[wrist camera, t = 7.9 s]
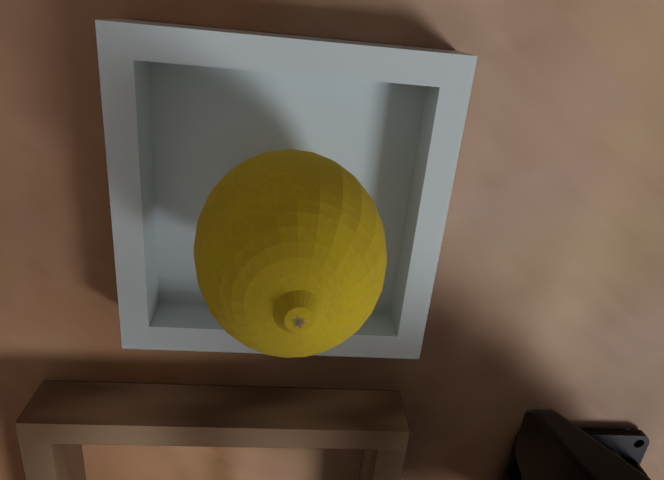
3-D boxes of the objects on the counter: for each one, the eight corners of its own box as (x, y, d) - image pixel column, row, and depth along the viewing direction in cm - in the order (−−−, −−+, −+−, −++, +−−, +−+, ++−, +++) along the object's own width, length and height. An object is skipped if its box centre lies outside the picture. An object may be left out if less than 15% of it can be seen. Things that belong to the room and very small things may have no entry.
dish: (457, 50, 18) (477, 56, 16) (407, 327, 22) (419, 359, 20) (118, 18, 17) (95, 19, 15) (138, 316, 21) (122, 348, 19)
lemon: (180, 158, 18) (126, 263, 11) (332, 101, 18) (380, 169, 10) (244, 287, 20) (234, 445, 13) (378, 238, 20) (444, 371, 13)
